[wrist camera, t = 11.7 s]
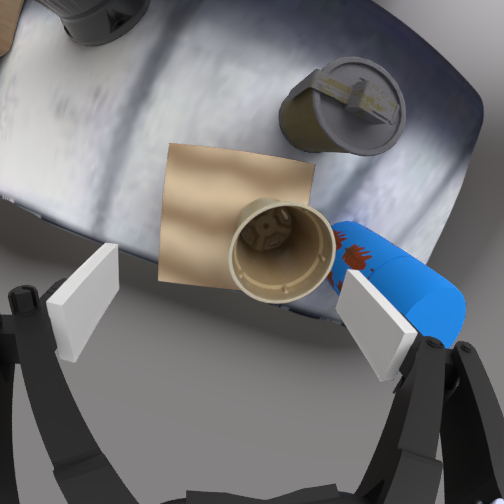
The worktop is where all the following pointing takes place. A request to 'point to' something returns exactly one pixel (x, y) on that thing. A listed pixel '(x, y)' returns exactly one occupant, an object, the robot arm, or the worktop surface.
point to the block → (8, 22)
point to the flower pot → (280, 250)
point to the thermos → (399, 281)
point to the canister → (345, 109)
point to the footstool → (217, 207)
